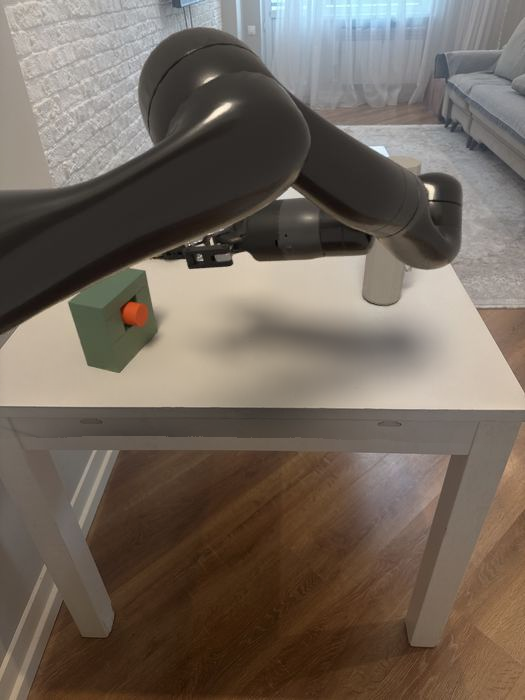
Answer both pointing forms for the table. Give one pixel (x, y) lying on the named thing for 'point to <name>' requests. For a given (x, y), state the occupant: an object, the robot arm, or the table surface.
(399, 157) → the water bottle
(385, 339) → the table surface
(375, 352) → the table surface
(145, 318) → the push knob
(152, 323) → the block
